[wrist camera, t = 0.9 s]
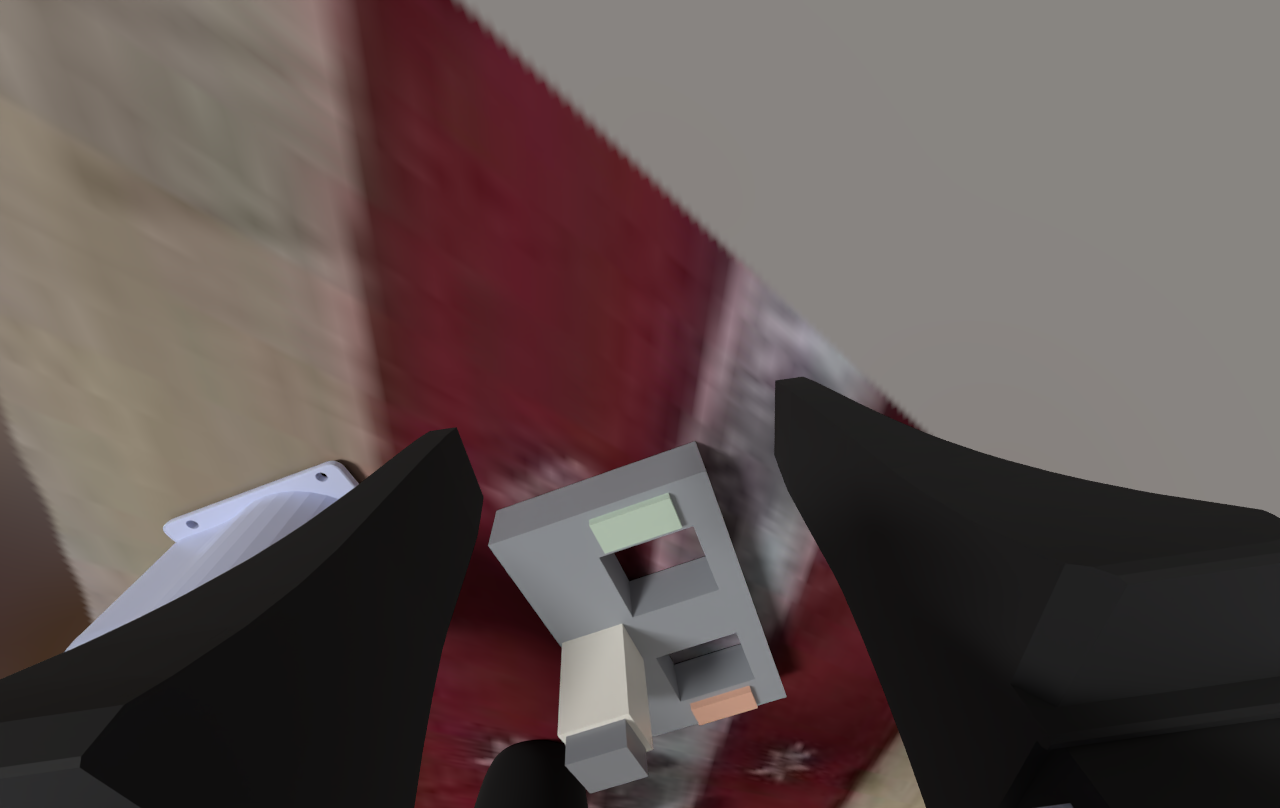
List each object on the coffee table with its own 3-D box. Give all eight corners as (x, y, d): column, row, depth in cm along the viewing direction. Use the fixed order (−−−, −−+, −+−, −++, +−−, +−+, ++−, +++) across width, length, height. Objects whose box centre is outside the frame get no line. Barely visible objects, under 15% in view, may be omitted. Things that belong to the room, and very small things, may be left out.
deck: (627, 705, 35) (631, 750, 32) (496, 510, 25) (486, 552, 22) (773, 661, 34) (788, 703, 31) (695, 441, 24) (708, 475, 22)
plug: (586, 677, 28) (586, 798, 23) (562, 642, 27) (556, 764, 21) (643, 659, 28) (656, 777, 23) (622, 623, 26) (631, 741, 21)
